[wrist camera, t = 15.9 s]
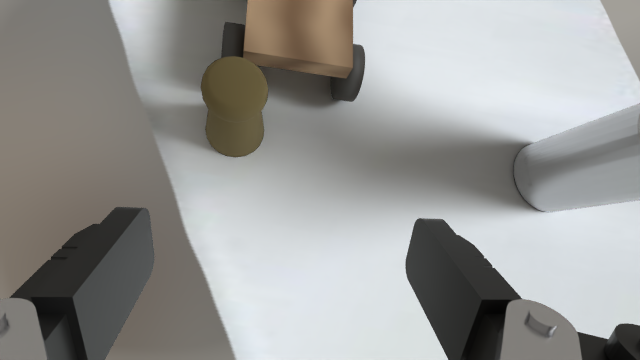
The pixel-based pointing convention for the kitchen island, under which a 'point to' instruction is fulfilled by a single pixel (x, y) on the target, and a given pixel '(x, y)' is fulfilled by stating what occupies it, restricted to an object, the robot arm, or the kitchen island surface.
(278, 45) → the trolley
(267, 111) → the kitchen island surface
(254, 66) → the cork
